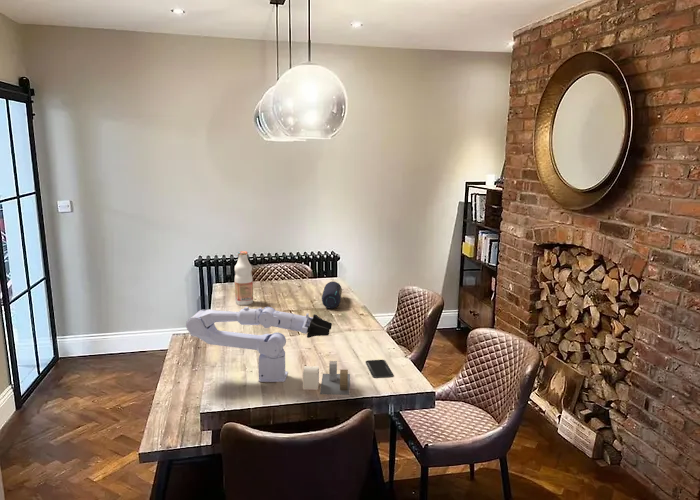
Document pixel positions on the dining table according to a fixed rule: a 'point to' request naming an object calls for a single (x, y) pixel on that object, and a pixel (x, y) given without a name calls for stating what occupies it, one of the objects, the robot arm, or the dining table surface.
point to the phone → (379, 368)
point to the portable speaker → (331, 295)
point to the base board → (333, 386)
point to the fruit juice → (243, 280)
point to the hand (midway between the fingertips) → (330, 329)
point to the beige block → (311, 377)
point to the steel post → (333, 371)
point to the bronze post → (343, 379)
